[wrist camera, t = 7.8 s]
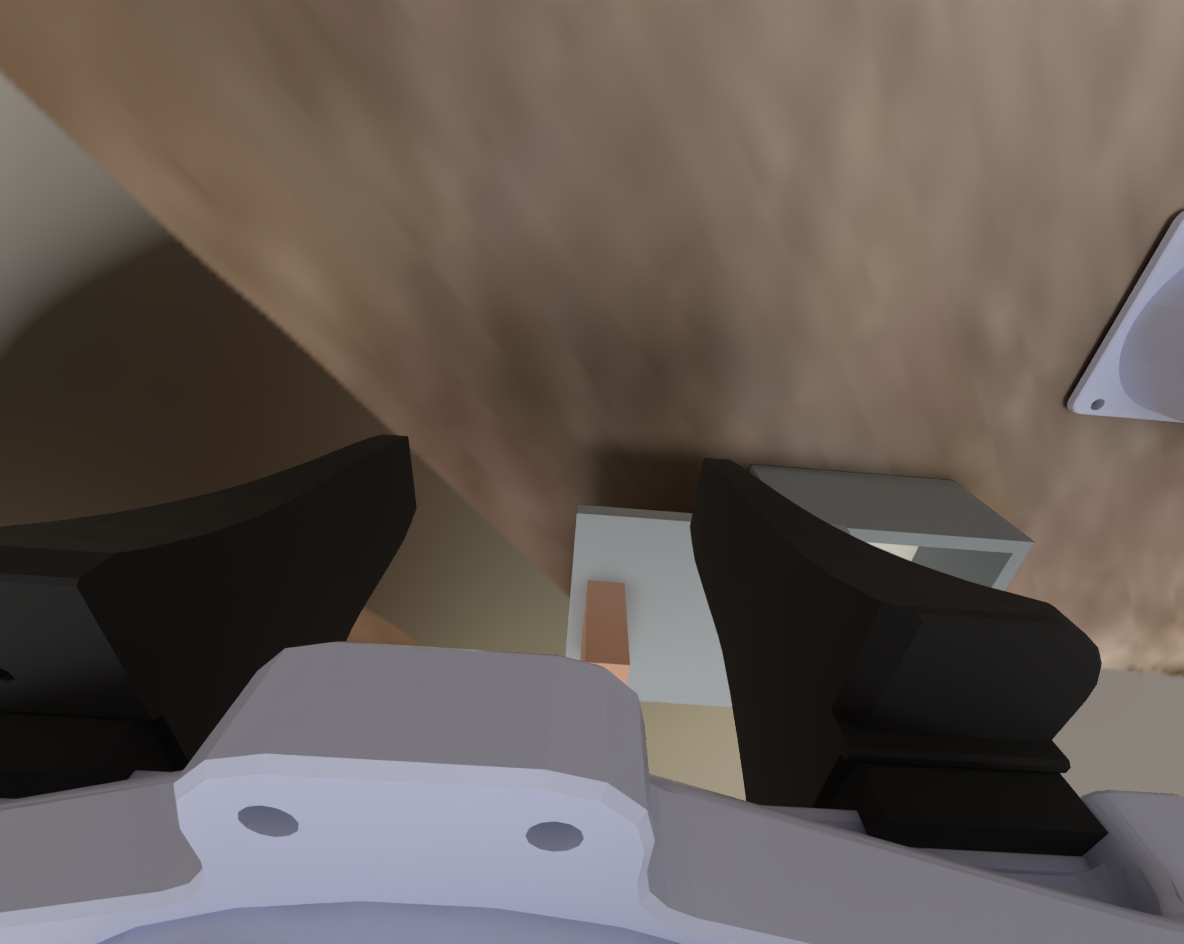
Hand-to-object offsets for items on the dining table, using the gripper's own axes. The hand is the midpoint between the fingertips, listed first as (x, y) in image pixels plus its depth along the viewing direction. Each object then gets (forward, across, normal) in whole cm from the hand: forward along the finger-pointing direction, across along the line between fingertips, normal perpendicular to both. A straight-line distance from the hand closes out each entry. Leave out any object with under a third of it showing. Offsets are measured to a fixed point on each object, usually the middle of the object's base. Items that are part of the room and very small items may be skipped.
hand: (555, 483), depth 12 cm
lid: (+5, -6, +9) cm, 12 cm away
